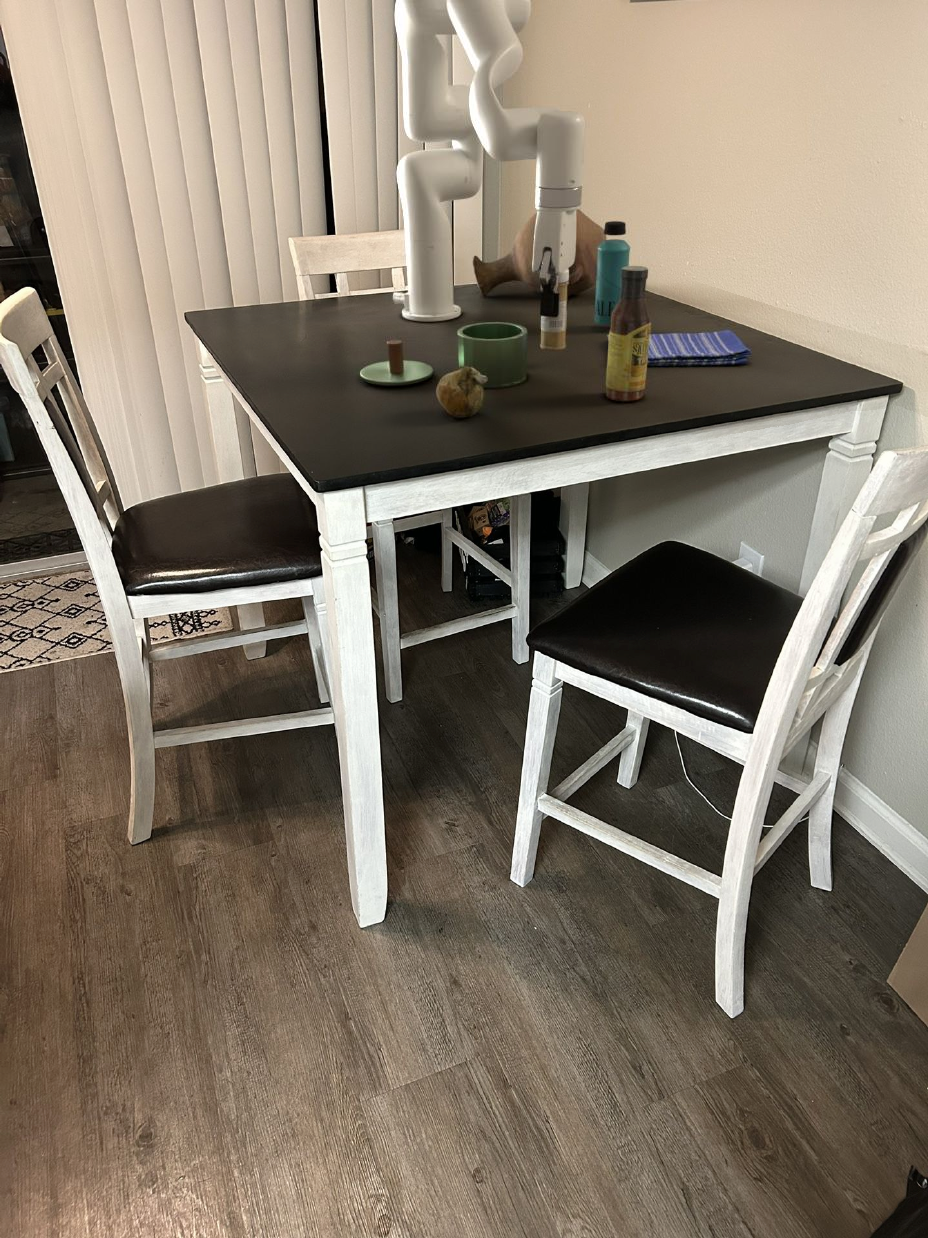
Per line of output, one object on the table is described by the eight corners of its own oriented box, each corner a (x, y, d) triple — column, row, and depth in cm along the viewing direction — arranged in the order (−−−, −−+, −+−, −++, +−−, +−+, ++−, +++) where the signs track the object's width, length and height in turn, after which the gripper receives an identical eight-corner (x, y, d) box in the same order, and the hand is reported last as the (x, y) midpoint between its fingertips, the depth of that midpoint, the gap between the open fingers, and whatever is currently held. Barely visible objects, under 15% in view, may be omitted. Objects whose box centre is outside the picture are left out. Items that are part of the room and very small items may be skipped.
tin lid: (347, 384, 157) (344, 348, 154) (380, 364, 167) (378, 329, 164) (414, 392, 153) (412, 354, 150) (444, 370, 163) (443, 335, 159)
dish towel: (752, 366, 160) (754, 349, 159) (616, 367, 161) (617, 351, 160) (731, 339, 175) (733, 324, 174) (606, 341, 176) (607, 326, 175)
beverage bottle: (624, 324, 186) (631, 218, 176) (626, 333, 181) (633, 224, 170) (592, 324, 187) (597, 218, 176) (593, 333, 181) (598, 224, 171)
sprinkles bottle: (566, 344, 164) (570, 265, 157) (564, 352, 160) (567, 271, 153) (541, 343, 165) (543, 265, 158) (538, 351, 161) (540, 271, 154)
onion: (482, 404, 147) (481, 354, 143) (489, 421, 140) (488, 369, 136) (435, 407, 146) (432, 357, 142) (440, 424, 139) (437, 372, 135)
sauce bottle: (634, 405, 144) (645, 273, 134) (598, 399, 147) (605, 270, 137) (650, 394, 149) (661, 265, 139) (615, 388, 152) (623, 262, 141)
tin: (448, 384, 156) (447, 336, 152) (473, 365, 165) (473, 319, 161) (512, 391, 152) (513, 342, 148) (535, 371, 161) (536, 324, 157)
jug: (614, 288, 214) (489, 308, 221) (605, 197, 208) (477, 221, 215) (607, 289, 195) (472, 311, 203) (598, 189, 189) (458, 216, 197)
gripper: (552, 189, 157) (548, 299, 167) (519, 205, 144) (517, 323, 154) (594, 191, 155) (588, 302, 165) (565, 207, 142) (560, 327, 152)
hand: (553, 311), depth 159 cm, fingers closed on sprinkles bottle, 4 cm apart
